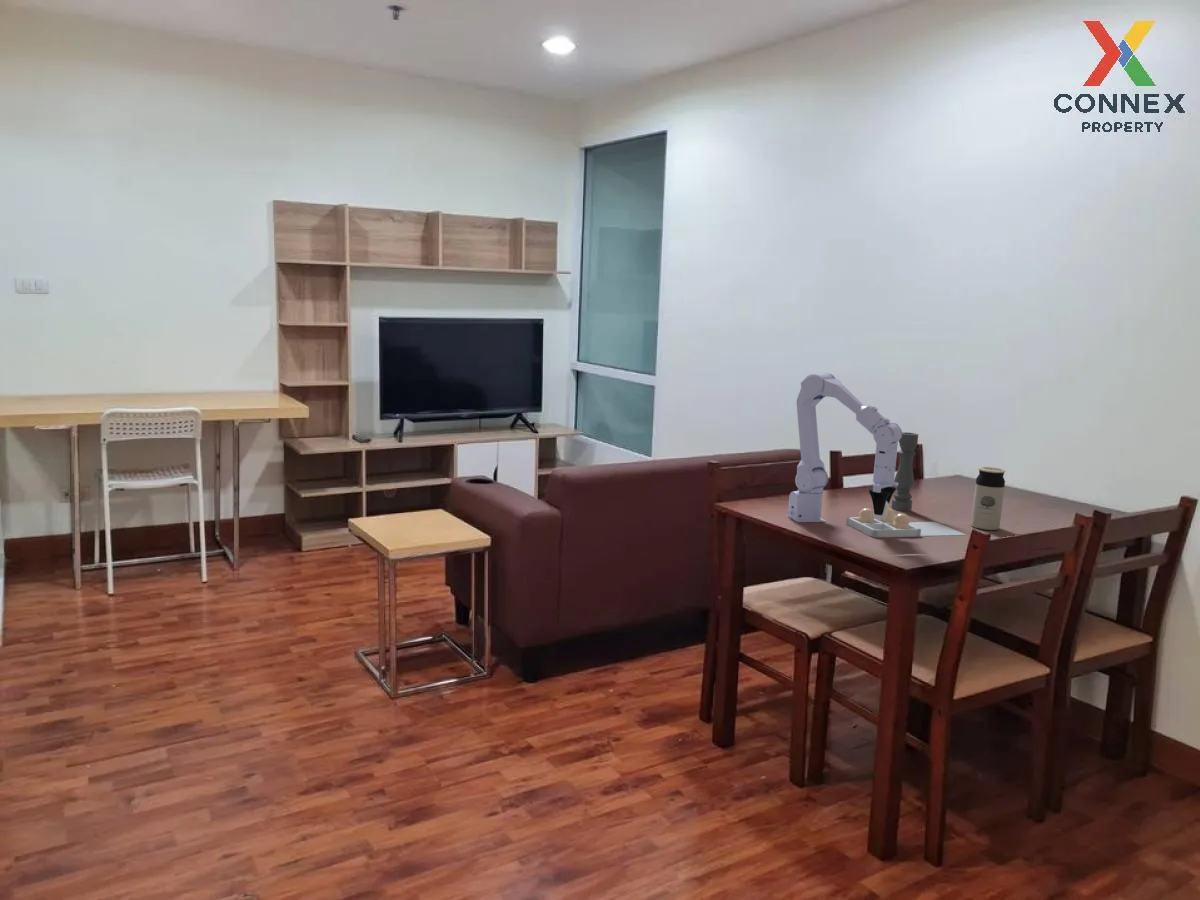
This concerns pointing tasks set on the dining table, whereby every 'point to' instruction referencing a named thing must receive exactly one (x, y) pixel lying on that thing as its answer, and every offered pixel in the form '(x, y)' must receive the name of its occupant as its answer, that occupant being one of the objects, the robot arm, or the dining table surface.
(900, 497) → the candle holder
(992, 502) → the travel mug
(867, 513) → the brown egg left
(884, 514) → the white egg
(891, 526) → the egg carton
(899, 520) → the brown egg back
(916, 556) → the dining table surface
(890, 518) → the brown egg far
